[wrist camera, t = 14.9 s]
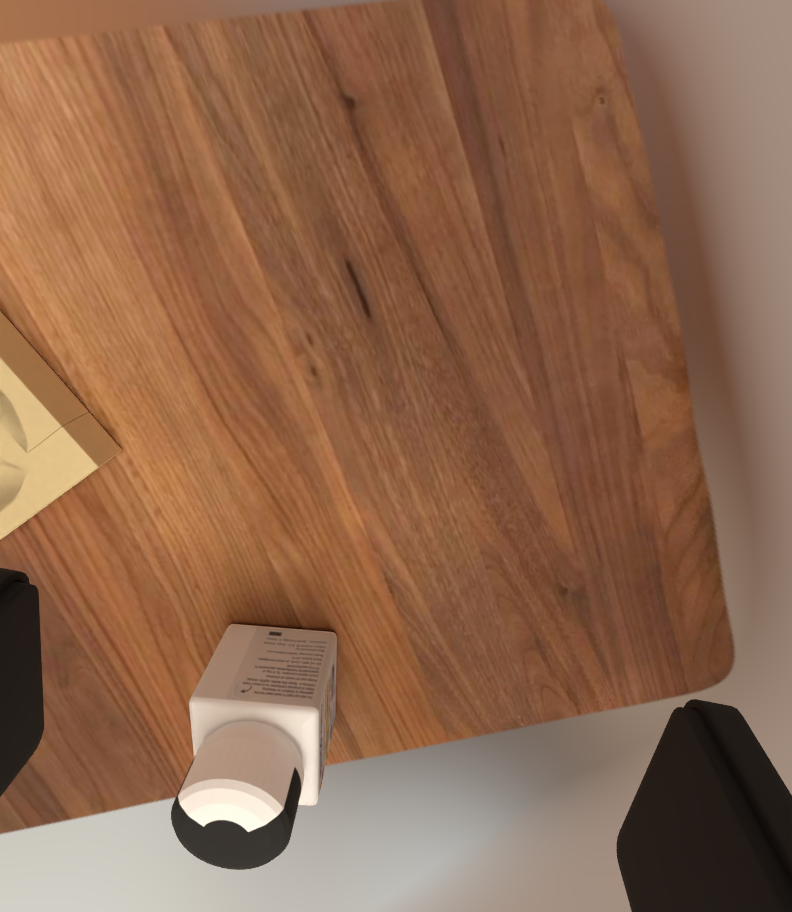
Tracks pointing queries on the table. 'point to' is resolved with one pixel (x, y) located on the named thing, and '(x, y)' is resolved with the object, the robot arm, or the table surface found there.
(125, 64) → the table surface
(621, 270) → the table surface
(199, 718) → the container
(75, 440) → the socket pad
